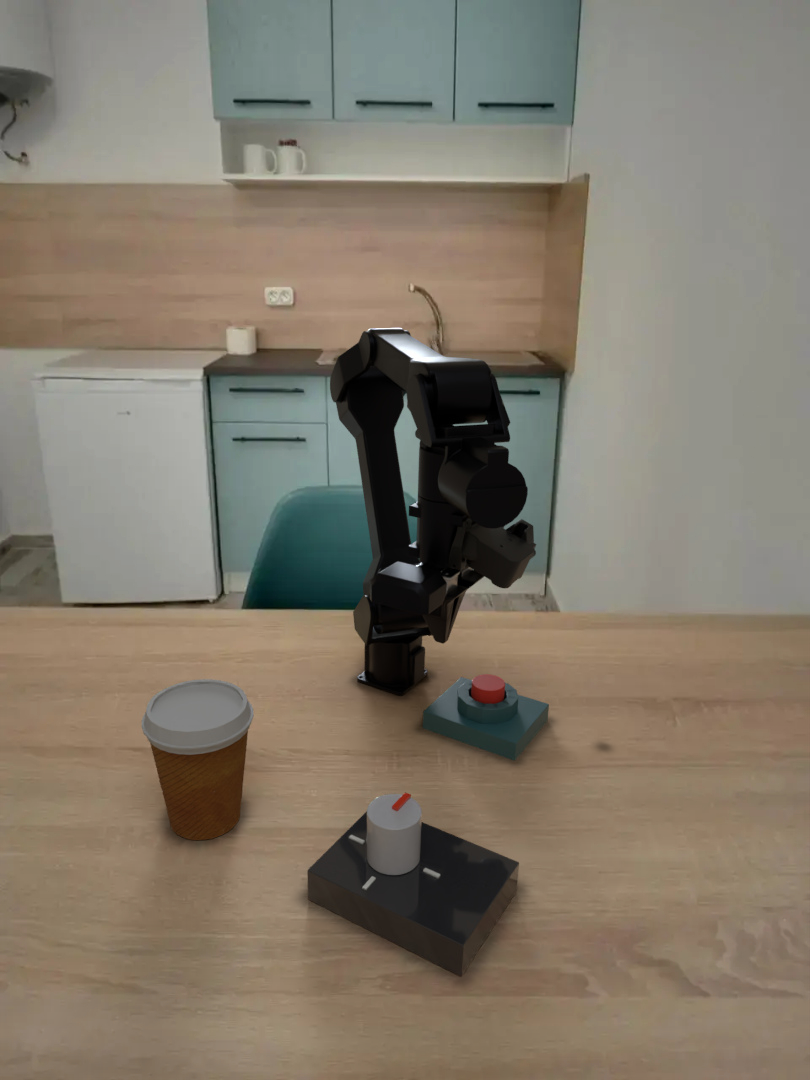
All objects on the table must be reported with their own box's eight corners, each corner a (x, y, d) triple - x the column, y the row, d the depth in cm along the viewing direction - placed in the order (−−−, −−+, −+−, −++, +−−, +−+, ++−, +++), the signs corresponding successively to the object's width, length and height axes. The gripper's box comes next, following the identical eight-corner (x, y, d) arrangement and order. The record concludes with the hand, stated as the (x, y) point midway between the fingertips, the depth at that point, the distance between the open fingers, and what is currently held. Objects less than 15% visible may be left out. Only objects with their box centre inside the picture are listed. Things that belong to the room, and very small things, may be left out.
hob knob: (402, 883, 65) (404, 833, 63) (355, 862, 67) (356, 813, 65) (429, 850, 68) (431, 802, 67) (384, 830, 71) (385, 783, 69)
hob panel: (307, 899, 67) (306, 868, 66) (374, 829, 75) (375, 800, 74) (461, 977, 60) (463, 944, 59) (516, 891, 68) (519, 860, 67)
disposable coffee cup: (164, 866, 70) (153, 746, 66) (142, 801, 78) (130, 690, 74) (272, 833, 74) (267, 718, 70) (240, 774, 82) (234, 668, 78)
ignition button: (465, 698, 90) (466, 684, 89) (480, 684, 93) (480, 670, 92) (495, 708, 88) (496, 694, 87) (509, 693, 91) (510, 679, 90)
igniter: (422, 728, 91) (423, 696, 89) (460, 693, 98) (461, 663, 97) (514, 761, 85) (517, 728, 84) (547, 721, 93) (550, 689, 91)
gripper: (482, 539, 67) (472, 705, 73) (562, 485, 83) (549, 626, 88) (367, 514, 73) (365, 671, 78) (463, 468, 88) (456, 602, 93)
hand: (441, 641), depth 84 cm, fingers closed
